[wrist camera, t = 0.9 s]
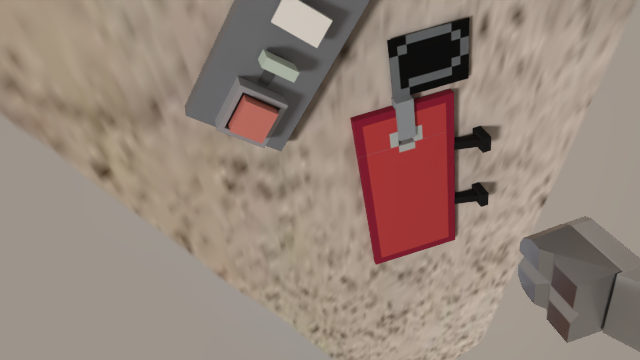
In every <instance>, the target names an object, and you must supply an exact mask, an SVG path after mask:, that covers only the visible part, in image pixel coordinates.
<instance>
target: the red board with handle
mask: <svg viewBox="0 0 640 360" xmlns="http://www.w3.org/2000/svg"><path fill="white" fill-rule="evenodd" d="M387 43H388V53H389V63H390V73H391V84H392V94H393V97H392V98H391V100H392V106H389V107H386V108H382V109H379V110H375V111H372V112H368V113H365V114H362V115H358V116H355V117H352V118H351V124H352V130H353V136H354V142H355V148H356V154H357V160H358V166H359V172H360V178H361V184H362V190H363V196H364V202H365V208H366V214H367V220H368V225H369V231H370V237H371V243H372V249H373V255H374V261H375V264H380V263H383V262H386V261H389V260H392V259H395V258H398V257H402V256H405V255H408V254H411V253H414V252H417V251H421V250H424V249H427V248H430V247H433V246H436V245H440V244H443V243H446V242H449V241H452V240H455V204H457V203H465V202H474V201H477V202H478V204H479V205H480V206H481V207H482V206H485V205H488V194H489V193H488V192H487V191H486V190H485V189H484V188H483V186H482V185H481V184H480V183H479V182H478V183H475V184H472V191H468V192H460V193H455V163H454V150H457V149H465V148H472V147H478V148H479V149H480V150H481V151H482V152H483V153H484V152H487V151H490V150H491V136H490V135H489V134H488V133H487V132H486V131H485V130H484V129H483V128H482V127H481V126H478V127H475V128H473V136H468V137H461V138H454V92H453V91H452V90H451V89H448V90H444V91H441V92H437V93H434V94H431V95H427V96H424V97H420V98H417V99H413V98H412V97H411V96H410V95H412V94H415V93H419V92H422V91H426V90H429V89H433V88H436V87H440V86H443V85H446V84H450V83H453V82H457V81H460V80H464V79H467V78H468V72H469V18H466V19H463V20H459V21H455V22H452V23H448V24H445V25H441V26H437V27H434V28H430V29H427V30H423V31H419V32H416V33H412V34H409V35H405V36H401V37H398V38H394V39H391V40H387ZM398 139H399V141H398Z"/></svg>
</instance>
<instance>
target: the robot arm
mask: <svg viewBox="0 0 640 360" xmlns="http://www.w3.org/2000/svg"><path fill="white" fill-rule="evenodd" d="M520 252H521V253H522V254H523V255H524V258H523V259H522V261H521V262H520V263H519V265H518V276H519V279H520V282H521V285H522V287H523V289H524V291H525V293H526V294H527V296H528V297H529V298H530V299H531V301H532V302H533V303H534V304H536V305H538V306H541V307H543V308H546V309H547V320H548V321H549V322H550V323H551V324H552V326H553V327H554V328H555V329H556V330H557V332H558V333H559V334H560V335H561V336H562V338H563V339H564V340H565V341H566V342H567V343H568V342H571V341H573V340H576V339H579V338H582V337H585V336H588V335H591V334H593V333H596V332H599V331H602V330H603V333H605V334H607V335H609V336H611V337H612V338H615V339H616V340H618V341H620V342H622V343H624V344H626V345H628V346H630V347H632V348H634V349H636V350H637V351H639V352H640V258H639V257H638V256H636V255H635V254H634V253H633V252H631V251H630V250H629V249H628V248H627V247H625V246H624V245H623V244H622V243H621V242H619V241H618V240H617V239H616V238H614V237H613V236H612V235H611V234H610V233H608V232H607V231H606V230H605V229H603V228H602V227H601V226H600V225H599V224H597V223H596V222H595V221H594V220H592V219H591V218H588V217H586V216H585V217H582V218H579V219H576V220H573V221H570V222H567V223H565V224H560V225H558V226H555V227H552V228H549V229H547V230H544V231H541V232H539V233H536V234H533V235H530V236H528V237H525V238H523V239H522V241H521V242H520Z"/></svg>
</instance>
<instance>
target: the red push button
mask: <svg viewBox="0 0 640 360" xmlns="http://www.w3.org/2000/svg"><path fill="white" fill-rule="evenodd" d="M277 117H278V112H277V110H276V107H273V106H271V105H269V104H266V103H264V102H262V101H259V100H257V99H255V98H252V97H250V96H247V95H245V94H244V95H243V96H242V98H241V100H240V102H239V104H238V106H237V108H236V110H235V112H234V114H233V116H232V118H231V120H230V121H229V123H228V125H229V129H230V132H232V133H235V134H238V135H240V136H243V137H246V138H248V139H251V140H253V141H256V142H259V143H261V144H262V143H263V141H264V140H265V138H266V136H267V134H268V133H269V131H270V129H271V127H272V125H273V124H274V122H275V120H276V118H277Z"/></svg>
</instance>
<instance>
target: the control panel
mask: <svg viewBox="0 0 640 360" xmlns="http://www.w3.org/2000/svg"><path fill="white" fill-rule="evenodd" d="M301 1H302V2H304V3H306V4H308V5H309V6H311V7H313V8H314V9H316V10H318V11H319V12H321V13H323V14H324V15H326V16H328V17H329V18H331V19H332V20H333V21H332V23H331V25H330V26H329V28H328V30H327V32H326V33H325V35H324V37H323V39H322V40H321V42H320V44H319V46H318V48H316V47H314V46H312V45H310V44H309V43H307V42H305V41H303V40H302V39H300V38H298V37H296V36H294V35H293V34H291V33H289V32H287V31H286V30H284V29H282V28H280V27H279V26H277V25H275V24H273V23H271V19H272V17H273V15H274V13H275V11H276V9H277V8H278V6H279V4H280V2H281V0H235V1H234V3H233V5H232V7H231V9H230V11H229V13H228V15H227V18H226V20H225V22H224V24H223V26H222V28H221V30H220V32H219V35H218V37H217V39H216V41H215V43H214V45H213V47H212V49H211V52H210V54H209V56H208V58H207V60H206V62H205V64H204V66H203V69H202V71H201V73H200V75H199V77H198V79H197V81H196V83H195V86H194V88H193V90H192V92H191V94H190V96H189V98H188V100H187V103H186V105H185V113H186V116H188V117H191V118H194V119H196V120H199V121H202V122H204V123H207V124H210V125H212V126H215V127H216V128H217V131H220V132H222V133H225V134H228V135H230V136H233V137H236V138H238V139H241V140H244V141H246V142H249V143H252V144H254V145H257V146H260V147H263V148H265V146H268V147H271V148H274V149H276V150H279V151H282V149H283V147H284V145H285V144H286V142H287V140H288V139H289V137H290V135H291V134H292V132H293V130H294V128H295V127H296V125H297V123H298V122H299V120H300V118H301V117H302V115H303V113H304V111H305V110H306V108H307V106H308V105H309V103H310V101H311V100H312V98H313V96H314V94H315V93H316V91H317V89H318V88H319V86H320V84H321V83H322V81H323V79H324V77H325V76H326V74H327V72H328V71H329V69H330V67H331V66H332V64H333V62H334V60H335V59H336V57H337V55H338V54H339V52H340V50H341V49H342V47H343V45H344V43H345V42H346V40H347V38H348V37H349V35H350V33H351V32H352V30H353V28H354V26H355V25H356V23H357V21H358V20H359V18H360V16H361V15H362V13H363V11H364V9H365V8H366V6H367V4H368V3H369V1H370V0H301ZM263 49H264V50H266V51H268V52H270V53H272V54H274V55H276V56H279V57H281V58H283V59H285V60H287V61H289V62H291V63H293V64H295V66H296V67H297V69H298V71H299V75H298V77H297V79H296V80H295V82H294V83H293V82H291V81H289V80H287V79H285V78H283V77H280V76H278V75H276V74H274V73H272V72H270V71H267V70H265V69H263V68H261V65H260V63H259V60H258V58H259V56H260V54H261V52H262V50H263ZM244 94H245V95H247V96H250V97H252V98H255V99H257V100H259V101H262V102H264V103H266V104H269V105H271V106H273V107H276V110H277V112H278V117H277V118H276V120H275V122H274V124H273V125H272V127H271V129H270V131H269V133H268V134H267V136H266V138H265V140H264V141H263V143H262V144H261V143H259V142H256V141H253V140H251V139H248V138H246V137H243V136H240V135H238V134H235V133H232V132H230V129H229V125H228V123H229V121H230V120H231V118H232V116H233V114H234V112H235V110H236V108H237V106H238V104H239V102H240V100H241V98H242V96H243V95H244Z"/></svg>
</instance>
